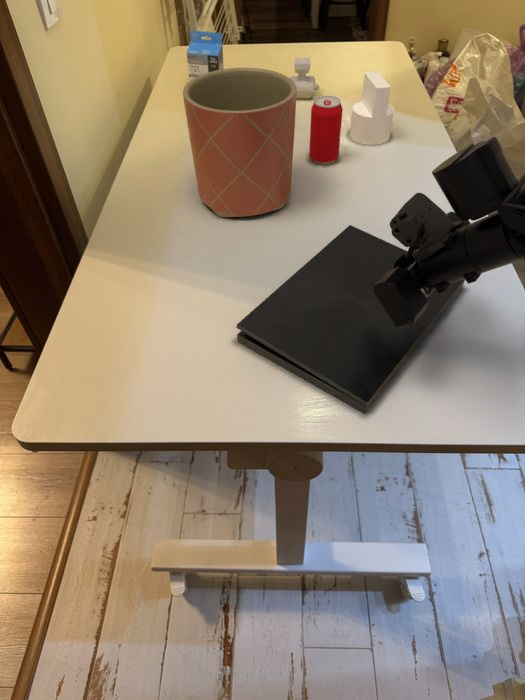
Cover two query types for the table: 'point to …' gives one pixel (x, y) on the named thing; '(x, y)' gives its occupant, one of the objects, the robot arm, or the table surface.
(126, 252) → the table surface
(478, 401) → the table surface
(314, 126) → the beverage can
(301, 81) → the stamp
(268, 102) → the planter
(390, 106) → the cylinder with rectangular tab
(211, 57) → the ink cartridge box
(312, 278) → the laptop screen
